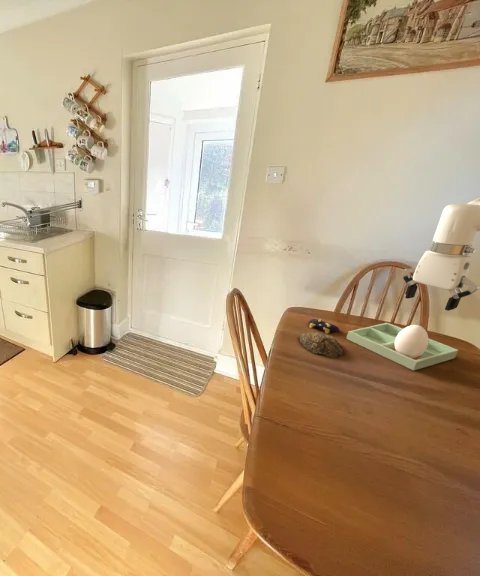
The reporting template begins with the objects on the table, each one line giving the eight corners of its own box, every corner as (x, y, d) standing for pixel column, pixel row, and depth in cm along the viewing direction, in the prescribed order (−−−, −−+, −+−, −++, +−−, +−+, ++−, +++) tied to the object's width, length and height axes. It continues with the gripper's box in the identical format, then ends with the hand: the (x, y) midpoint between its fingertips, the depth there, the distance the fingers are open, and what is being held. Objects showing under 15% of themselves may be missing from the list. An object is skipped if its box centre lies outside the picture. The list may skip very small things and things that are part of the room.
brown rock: (296, 336, 117) (299, 324, 116) (336, 342, 113) (339, 330, 111) (304, 354, 106) (307, 341, 104) (348, 361, 102) (352, 348, 100)
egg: (413, 353, 104) (426, 322, 100) (426, 365, 98) (440, 332, 94) (386, 349, 107) (397, 318, 103) (396, 361, 100) (408, 328, 96)
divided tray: (384, 330, 120) (387, 322, 119) (454, 359, 102) (458, 349, 101) (345, 339, 115) (348, 331, 113) (412, 371, 96) (417, 362, 95)
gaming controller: (340, 329, 120) (338, 322, 116) (333, 340, 119) (331, 334, 116) (312, 319, 127) (310, 313, 124) (306, 330, 127) (303, 324, 123)
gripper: (501, 254, 82) (475, 312, 88) (420, 241, 98) (403, 292, 104) (483, 257, 80) (458, 317, 86) (404, 244, 96) (387, 295, 102)
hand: (428, 303), depth 95 cm, fingers open, 9 cm apart
